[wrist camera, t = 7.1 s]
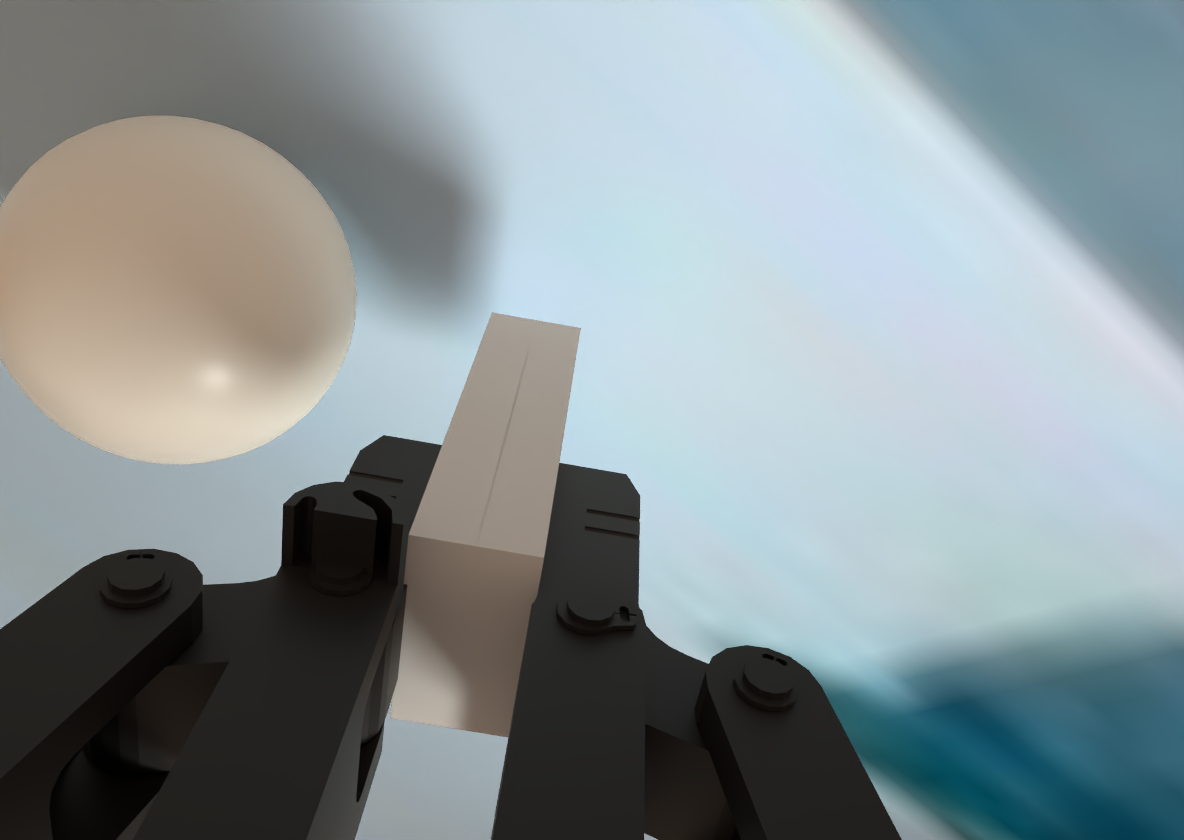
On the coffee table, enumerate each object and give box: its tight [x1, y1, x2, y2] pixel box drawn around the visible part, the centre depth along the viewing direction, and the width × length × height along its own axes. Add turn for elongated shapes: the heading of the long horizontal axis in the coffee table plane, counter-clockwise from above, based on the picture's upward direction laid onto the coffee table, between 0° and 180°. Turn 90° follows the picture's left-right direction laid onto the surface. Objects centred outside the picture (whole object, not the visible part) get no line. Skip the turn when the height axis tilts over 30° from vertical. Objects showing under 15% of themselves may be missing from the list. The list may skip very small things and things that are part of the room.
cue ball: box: [0, 115, 357, 465], centre depth 16 cm, size 6×6×6 cm
